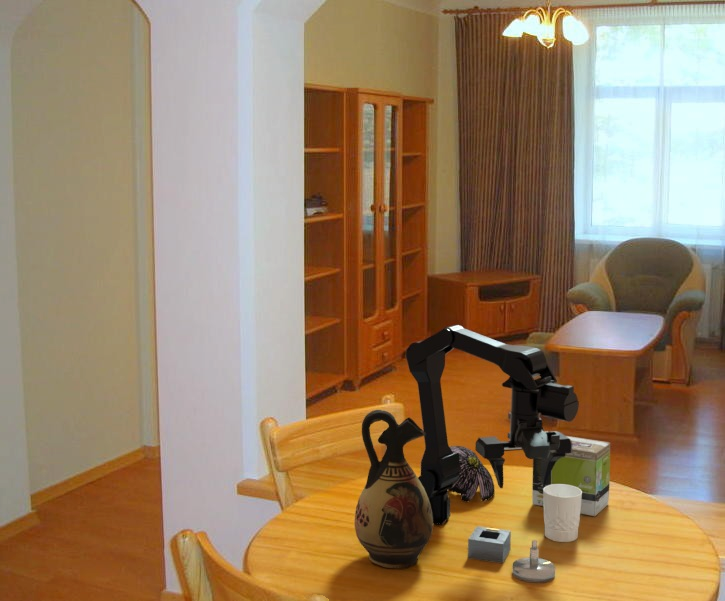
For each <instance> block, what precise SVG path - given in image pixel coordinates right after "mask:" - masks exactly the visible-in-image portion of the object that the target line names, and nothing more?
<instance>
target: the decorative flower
mask: <svg viewBox="0 0 725 601" xmlns="http://www.w3.org/2000/svg"><path fill="white" fill-rule="evenodd" d="M449 447H450V449H451V450H452V451H453V453H456V452H458V453H459V456H460V458H459V461H460V466H461V469H462V470H461V471H460V475H459V478H458V479H457V481H456V482H454V485H453V488H452V489H448V492H450V491H451V492H452V493H456V494H459V495H460V500H461V501H462V502H464V503H468V501H469V502H470V501H471V500H473V498H474V497H475V495H476V493H477V491H478V489H479V493H480V499H481V502H482V503H484V502H485V501H490V499H492V497H493V496H494V495H496V494H495V490H496V489H495V484H494V479H493V476H492V474H491V472H489V470H488V469H487V467H486V466H484V464H483V463H482V461H481V460H480V457H478V455H477V454H476V452H474V451H473V450H471V449H470V448H468V447H465V446H460V445H453V446H449Z"/></svg>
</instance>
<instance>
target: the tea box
mask: <svg viewBox="0 0 725 601" xmlns="http://www.w3.org/2000/svg"><path fill="white" fill-rule="evenodd" d="M565 436H566V437H568V438H569V439H570V440H571V441H572V453H566V456H565V457H562V458H560V459H559V460H557V461H556V463H555V465H554V466H553V468H552V470H551V473H550V475H549V478H548V480H547V482H546V484H545V485H543V484H542V483H541V458H535V459H532V488H531V489H532V490H531V491H532V492H531V493H532V496H531V497H532V500H531V501H532V505H535V506H540V507H544V501H543V489H544V487H546V486H548V485H552V484H566V485H572V486H575V487H578V488H579V489H581V491H582V499H581V512H580V515H587V516H591V517H596V516H597V515H598V514H599V513H600V512H602V511H603V509H604V508H606V507H607V506H608V505H609V500H610V499H609V498H610V482H611V481H610V477H611V473H610V472H611V442H609V441H603V440H596V439H591V438H589V439H588V438H582V437H578V436H576V437H575V436H569V435H565Z"/></svg>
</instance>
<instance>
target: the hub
mask: <svg viewBox="0 0 725 601" xmlns="http://www.w3.org/2000/svg"><path fill="white" fill-rule="evenodd" d="M529 548H530V549H529V557H522V558H518V559H516V560H514V561H513V563H512V571H511V572H512V575H513V577H514V578H516V579H517V580H520V581H523V582H526V583H531V584H532V583H533V584H542V583H543V584H544V583H547V582H550V581H553V580H554V579H555V577H556V566H555V565H554V563H553V562H552V561H550V560H547V559H544V558H542V557H541V558H539V553H540V552H539V547H538V540H535V539H533V540H531V547H529Z"/></svg>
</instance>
